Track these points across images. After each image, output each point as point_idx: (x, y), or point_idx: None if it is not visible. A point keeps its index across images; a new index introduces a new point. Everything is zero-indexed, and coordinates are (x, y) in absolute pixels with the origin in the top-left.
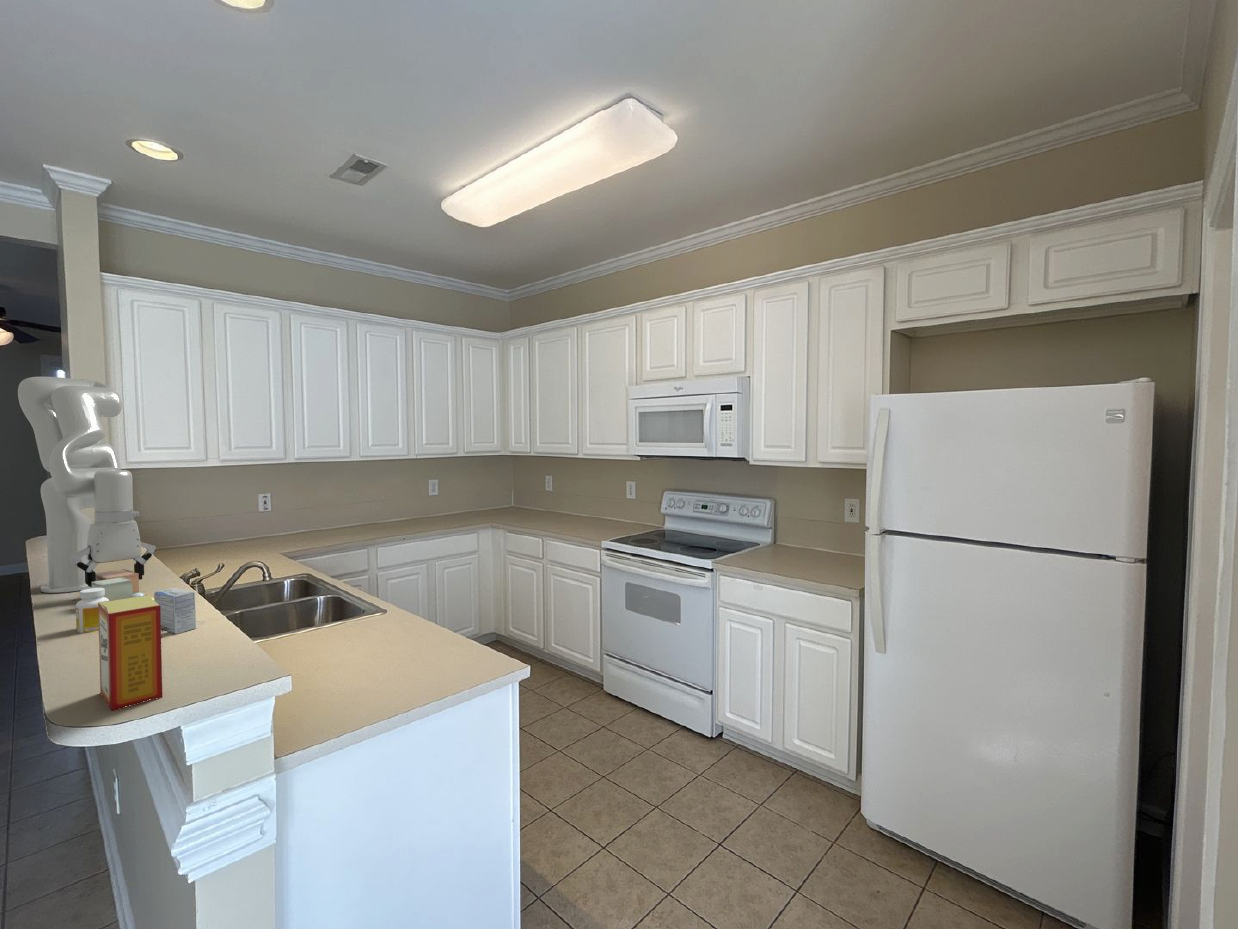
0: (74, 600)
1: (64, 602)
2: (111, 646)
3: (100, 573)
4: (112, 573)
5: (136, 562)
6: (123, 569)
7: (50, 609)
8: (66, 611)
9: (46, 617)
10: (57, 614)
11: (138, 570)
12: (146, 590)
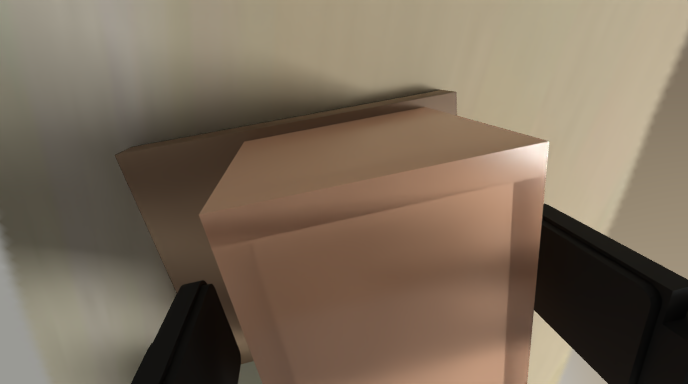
0: (135, 176)
1: (68, 10)
2: None
3: (284, 255)
4: (383, 329)
5: (683, 355)
6: (532, 165)
7: (20, 181)
8: (125, 286)
9: (48, 348)
10: (90, 321)
11: (574, 345)
12: (537, 38)
